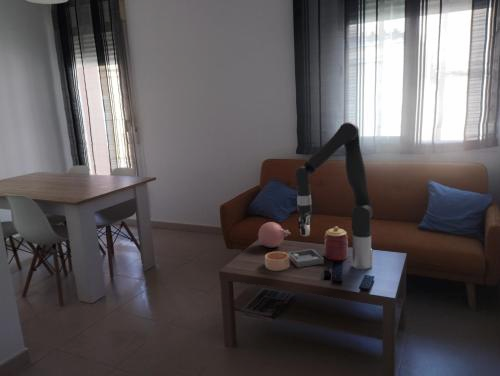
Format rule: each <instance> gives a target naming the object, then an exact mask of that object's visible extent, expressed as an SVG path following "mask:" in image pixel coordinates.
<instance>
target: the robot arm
mask: <svg viewBox="0 0 500 376" xmlns="http://www.w3.org/2000/svg"><path fill="white" fill-rule="evenodd" d="M359 131H360V130H359V127H358V125H357V124H356V123H355V122H352V121H347V122H344V123H342V124H341V125H340V126H339V128H338V129H337V131H336V132H335V134H333V136H332V137H331V138H330V139H329V140H328V141H327V142H326V143H325V144H324V145H322V146H321V147H320V148H319V149H318V150H316V152H315V153H313V154H312V155H311V156H310V157H309V158H308V160H307V161H306V162H304V163H303V164H302V165H301V166H299V167H298V168H297V169H296V170H295V182H296V186H297V190H296V191H297V193H296V195H297V196H296V197H297V199H296V201H297V202H296V203H297V204H296V205H297V209H296V210H297V213H299V217H298V218H297V223H298V224H297V226H298V229H300V228H301V231H300V235H301V236H302V235H305V225H306V224H307V225H310V226H311V223H312V212H313V211H312V195H311V193H312V192H311V190H312V189H311V185H310V182H309V181H310V180H309V178H310V176H312V175H313V174H314V173H315V172H316V171H317V170H318V169H319V168H320V167H322V166H323V165H324V164H325V163H326V162H328V160H329V159H330V158H331V157H332V156H333V155H334V154H335V153H336V151H338V150H339V149H340V148H341V147H343V146H344V148H345V172H346V180H347V182H348V185H349V187H350V189H351V191H352V194H353V199H354V207H353V209H352V210H351V231H352V262H351V265H352V267H353V268H354V269H358V270H368V269H370V268H372V267H373V249H372V229H371V218H372V216H373V214H374V213H373V208H372V207H373V206H372V204H371V201H370V200H371V199H370V196H369V192H368V182H367V175H366V169H365V164H364V159H363V154H362V151H361V146H360V132H359ZM303 224H304V225H303Z"/></svg>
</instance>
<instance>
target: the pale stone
mask: <svg viewBox="0 0 500 376" xmlns="http://www.w3.org/2000/svg"><path fill="white" fill-rule="evenodd" d="M303 225H304V224H303ZM310 226H311V224H310V225H307V224H306V225H305V235H301V236H302V237H308V236H310V235H311V232H310V231H311V229H310V228H311V227H310ZM299 229H300V232H301V228H299Z"/></svg>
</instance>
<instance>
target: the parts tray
mask: <svg viewBox="0 0 500 376" xmlns="http://www.w3.org/2000/svg"><path fill="white" fill-rule="evenodd" d="M287 254H288V255H289V261H291V263H293V264H294V265H295V267H297V268H301V267H309V266H316V265H323V264H325V258H324V257H323V256H322V255H320V253H318V252H317V251H316V250H315V249H313V248H310V249H304V250H297V251H296V250H295V251H288V252H287ZM293 254H298V259H296V258H295V257H294V256H293ZM313 257H318V258H317V259H313Z"/></svg>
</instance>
